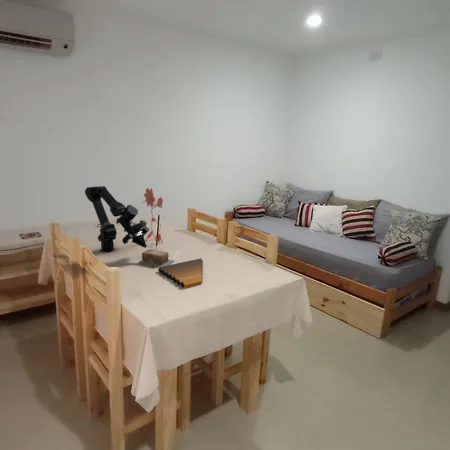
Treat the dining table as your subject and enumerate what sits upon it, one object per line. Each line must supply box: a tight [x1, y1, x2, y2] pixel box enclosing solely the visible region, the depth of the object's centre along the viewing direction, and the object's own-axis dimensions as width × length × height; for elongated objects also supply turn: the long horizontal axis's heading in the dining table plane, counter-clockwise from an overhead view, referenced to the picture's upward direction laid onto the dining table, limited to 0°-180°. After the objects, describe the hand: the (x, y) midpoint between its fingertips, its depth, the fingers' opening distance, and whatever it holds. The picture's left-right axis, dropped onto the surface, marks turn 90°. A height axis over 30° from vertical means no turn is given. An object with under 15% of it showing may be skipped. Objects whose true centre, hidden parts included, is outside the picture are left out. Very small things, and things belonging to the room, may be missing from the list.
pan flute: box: [157, 257, 204, 289], centre depth 180 cm, size 25×3×25 cm
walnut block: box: [141, 248, 169, 265], centre depth 194 cm, size 5×7×12 cm
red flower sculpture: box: [142, 187, 164, 248], centre depth 225 cm, size 15×26×35 cm, turn 38°
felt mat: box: [141, 259, 175, 268], centre depth 194 cm, size 14×11×1 cm
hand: (145, 247), depth 195 cm, fingers closed
